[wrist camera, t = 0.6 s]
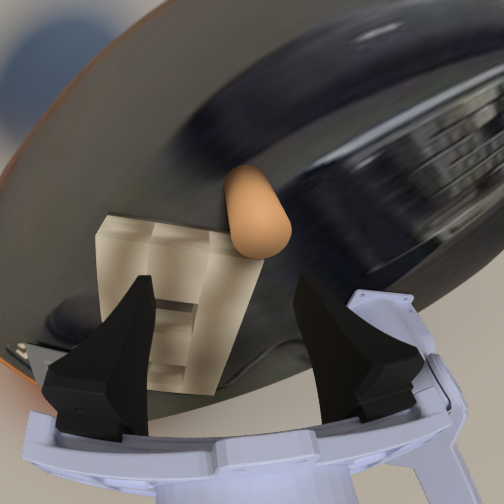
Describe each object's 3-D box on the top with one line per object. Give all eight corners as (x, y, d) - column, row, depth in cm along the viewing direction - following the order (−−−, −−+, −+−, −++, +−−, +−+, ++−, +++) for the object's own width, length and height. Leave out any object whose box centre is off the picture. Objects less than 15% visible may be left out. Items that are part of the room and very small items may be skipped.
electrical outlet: (125, 351, 32) (125, 367, 30) (119, 389, 36) (120, 402, 34) (28, 331, 26) (24, 347, 24) (39, 374, 30) (37, 387, 29)
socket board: (256, 235, 23) (264, 261, 21) (212, 371, 34) (213, 395, 31) (109, 212, 20) (95, 235, 17) (117, 360, 31) (113, 383, 28)
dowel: (272, 170, 20) (299, 213, 15) (260, 208, 22) (280, 262, 16) (229, 160, 20) (240, 200, 14) (219, 200, 21) (225, 254, 16)
